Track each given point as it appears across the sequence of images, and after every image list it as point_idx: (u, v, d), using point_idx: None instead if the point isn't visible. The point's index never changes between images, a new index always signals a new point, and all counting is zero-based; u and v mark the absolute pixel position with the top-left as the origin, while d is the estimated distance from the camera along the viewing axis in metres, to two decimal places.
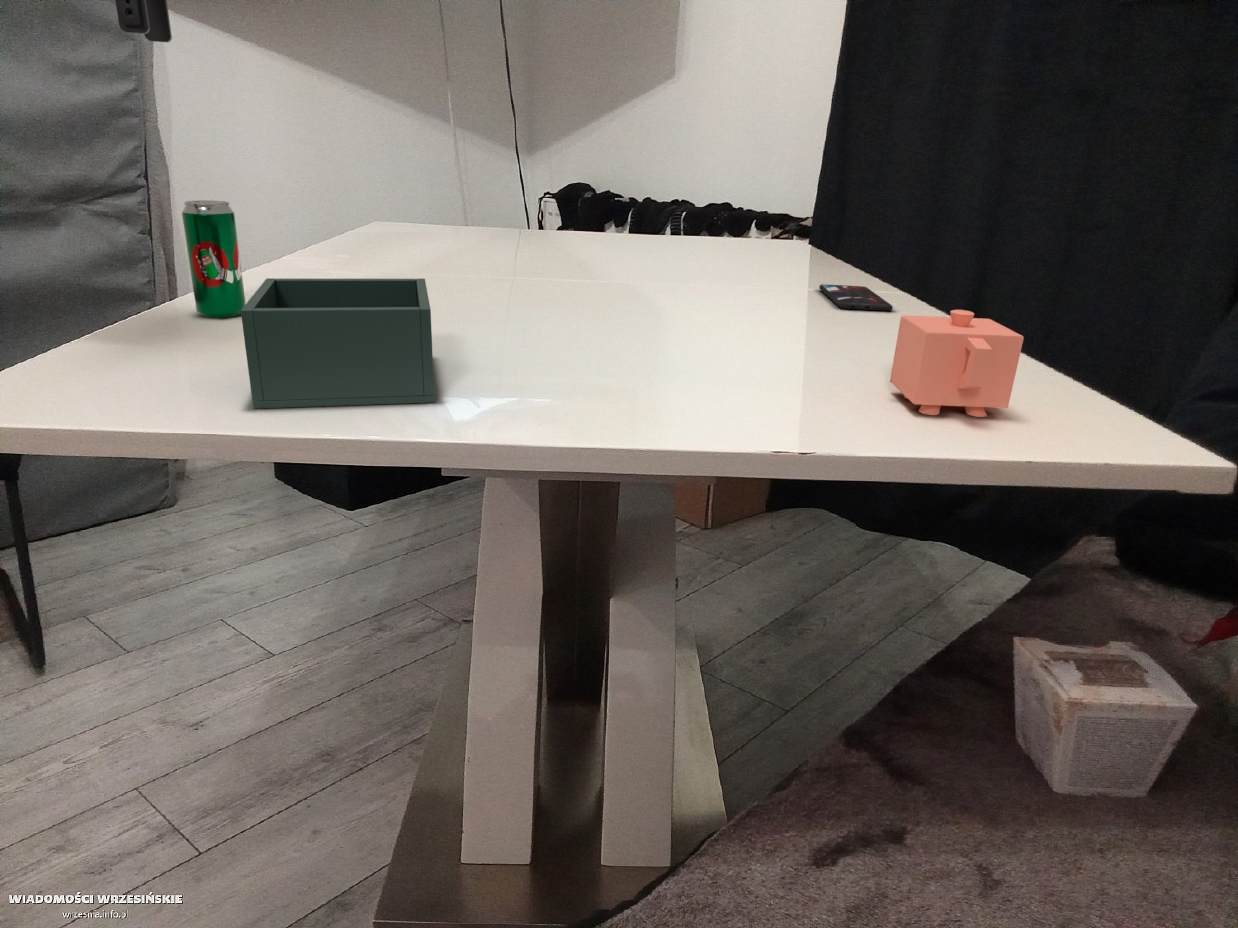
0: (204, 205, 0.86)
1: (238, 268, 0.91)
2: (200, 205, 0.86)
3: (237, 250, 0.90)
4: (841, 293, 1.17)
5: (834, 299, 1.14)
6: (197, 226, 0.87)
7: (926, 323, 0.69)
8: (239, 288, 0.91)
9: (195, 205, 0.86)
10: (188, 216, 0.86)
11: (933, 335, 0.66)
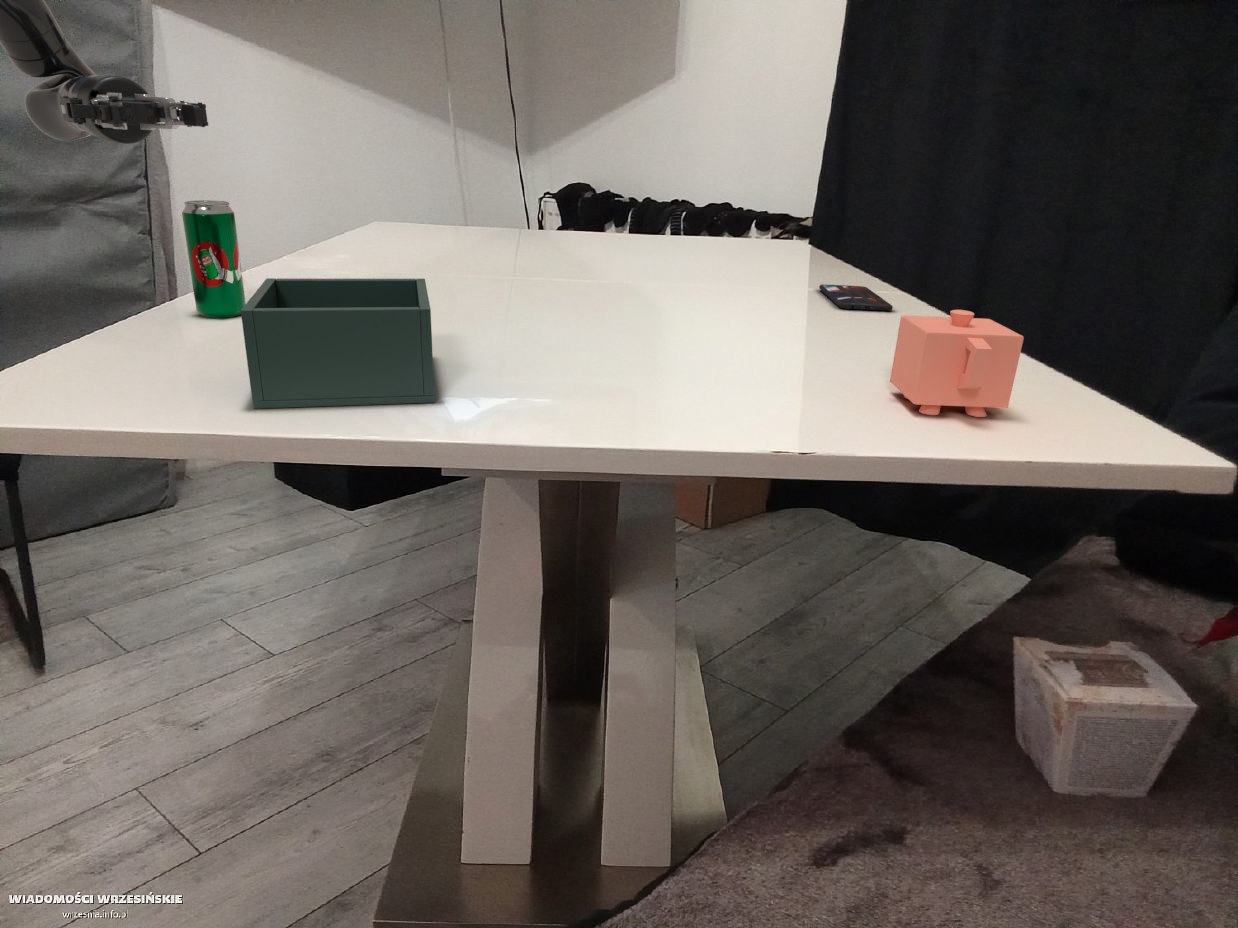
0: (204, 205, 0.86)
1: (238, 268, 0.91)
2: (200, 205, 0.86)
3: (237, 250, 0.90)
4: (841, 293, 1.17)
5: (834, 299, 1.14)
6: (197, 225, 0.87)
7: (926, 323, 0.69)
8: (239, 288, 0.91)
9: (195, 205, 0.86)
10: (188, 216, 0.86)
11: (933, 335, 0.66)
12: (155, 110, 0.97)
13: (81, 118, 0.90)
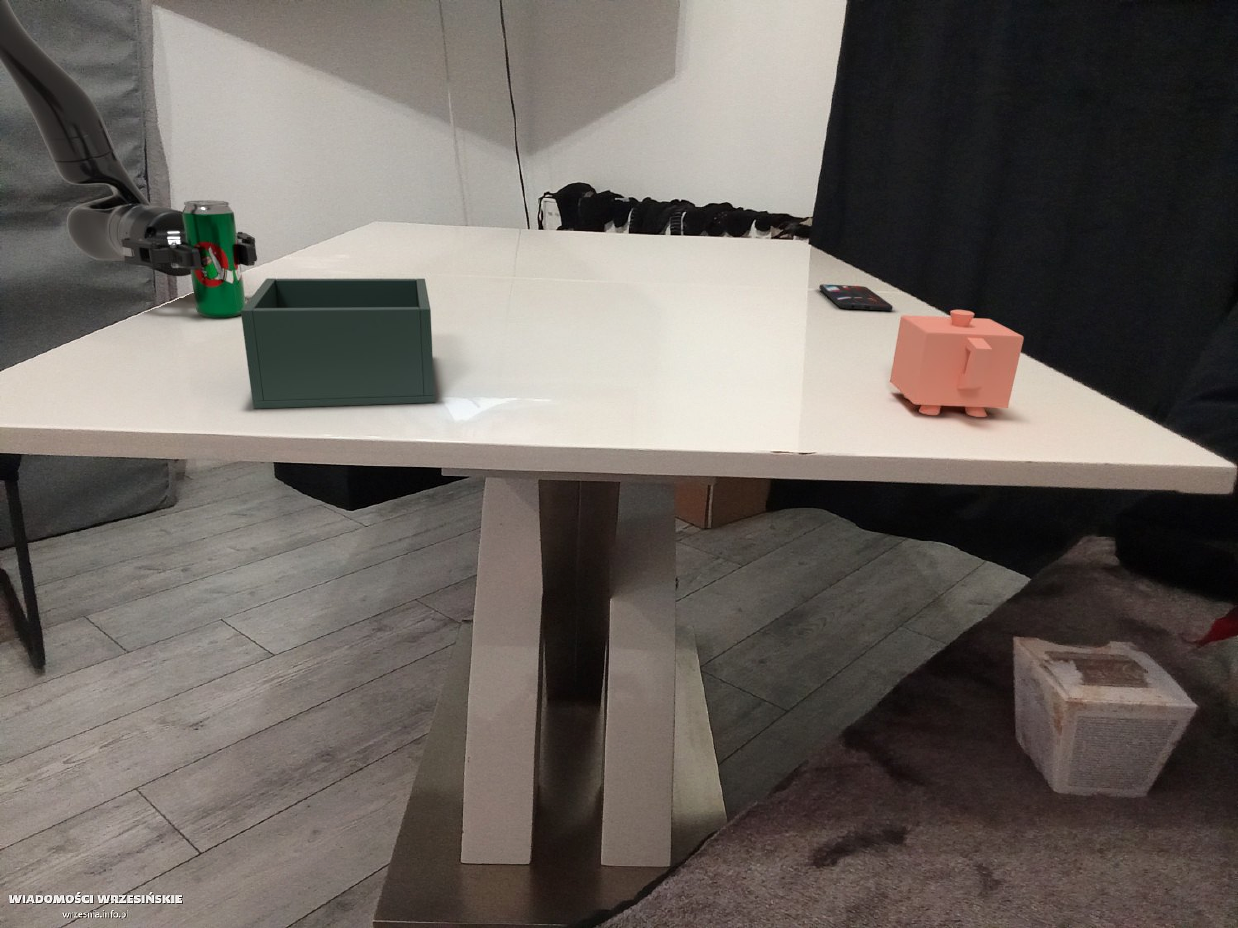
0: (204, 205, 0.86)
1: (238, 268, 0.91)
2: (200, 205, 0.86)
3: (237, 250, 0.90)
4: (841, 293, 1.17)
5: (834, 299, 1.14)
6: (197, 226, 0.87)
7: (926, 323, 0.69)
8: (239, 288, 0.91)
9: (195, 205, 0.86)
10: (188, 216, 0.86)
11: (933, 335, 0.66)
12: None
13: (159, 263, 0.88)
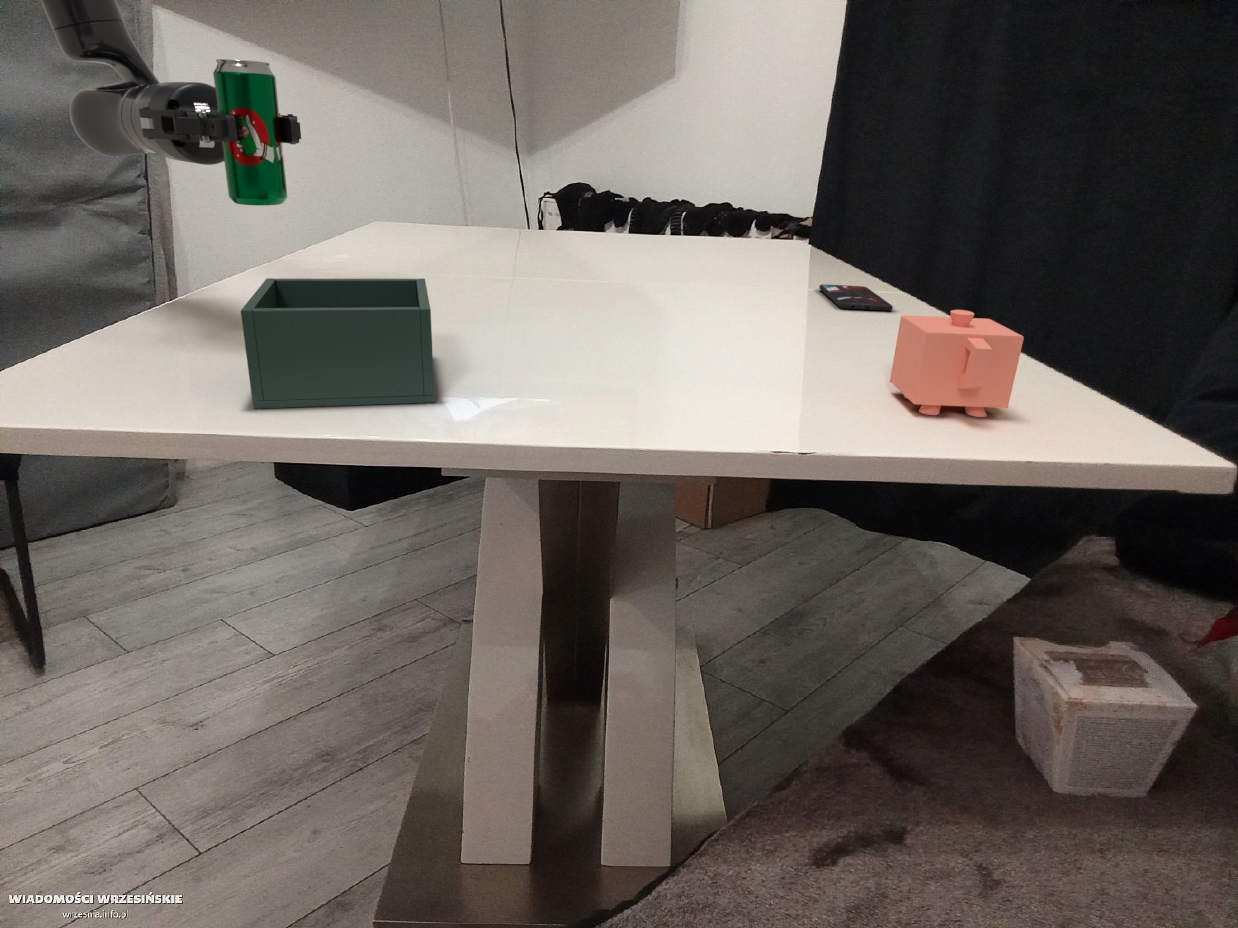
0: (241, 61, 0.71)
1: (279, 145, 0.75)
2: (236, 61, 0.71)
3: (278, 123, 0.75)
4: (841, 293, 1.17)
5: (834, 299, 1.14)
6: (233, 87, 0.71)
7: (926, 323, 0.69)
8: (280, 170, 0.76)
9: (230, 61, 0.71)
10: (221, 75, 0.71)
11: (933, 335, 0.66)
12: None
13: (186, 134, 0.73)
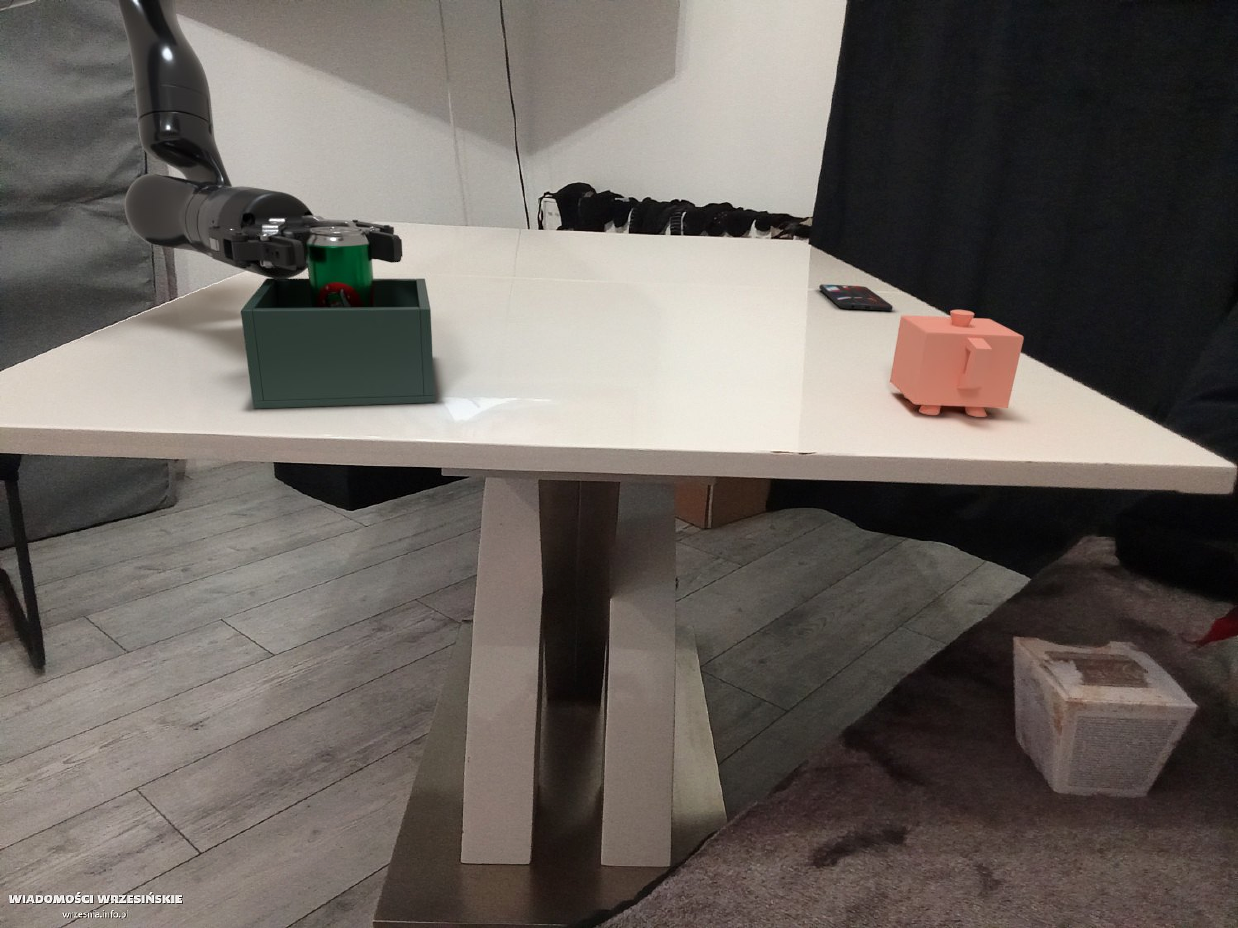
0: (337, 234, 0.65)
1: None
2: (331, 234, 0.65)
3: (373, 292, 0.69)
4: (841, 293, 1.17)
5: (834, 299, 1.14)
6: (327, 261, 0.65)
7: (926, 323, 0.69)
8: None
9: (325, 234, 0.65)
10: (315, 249, 0.65)
11: (933, 335, 0.66)
12: None
13: (246, 260, 0.64)
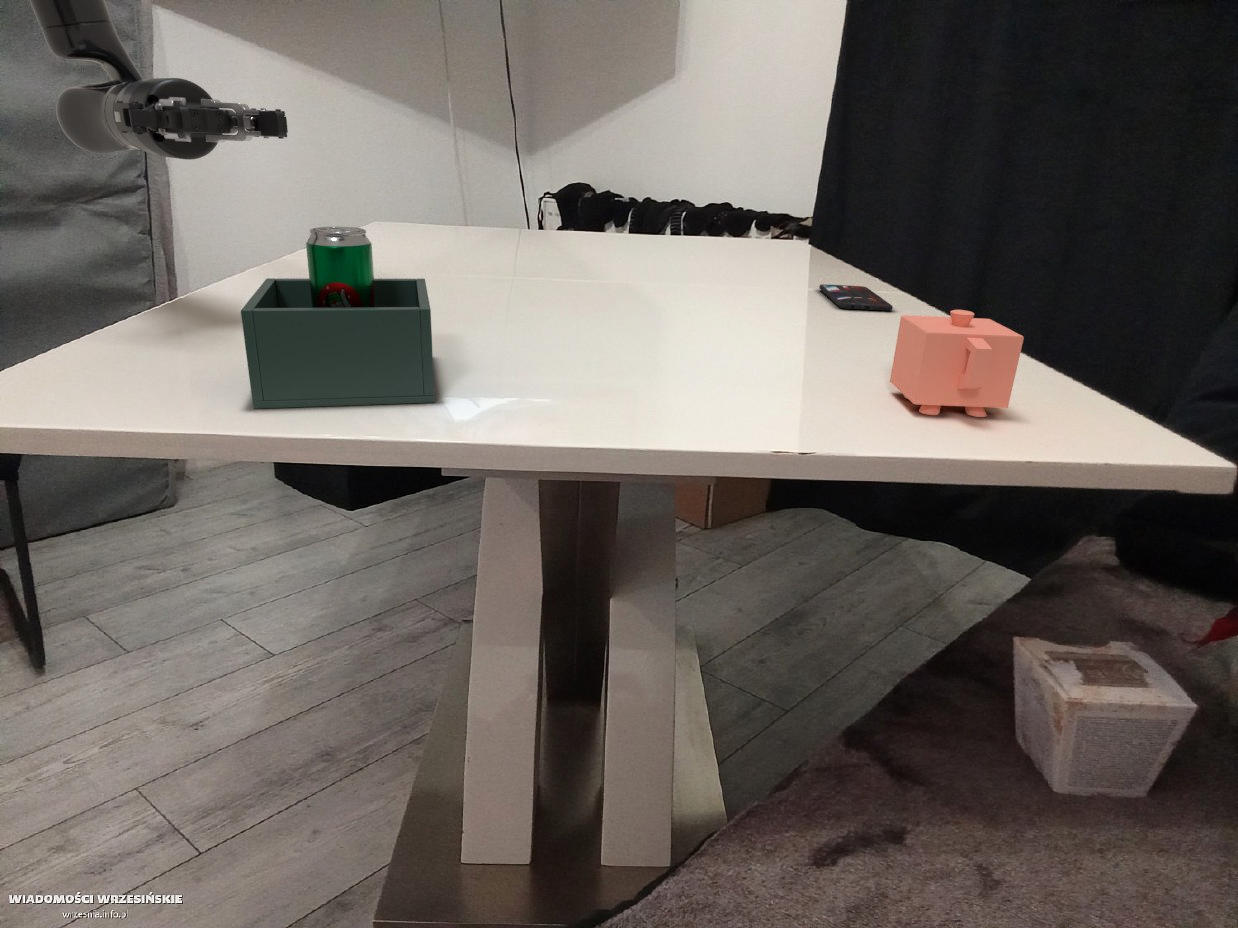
0: (337, 234, 0.65)
1: None
2: (332, 234, 0.65)
3: (374, 292, 0.69)
4: (841, 293, 1.17)
5: (834, 299, 1.14)
6: (328, 261, 0.65)
7: (926, 323, 0.69)
8: None
9: (326, 234, 0.65)
10: (316, 249, 0.65)
11: (933, 335, 0.66)
12: (226, 118, 0.80)
13: (142, 127, 0.73)
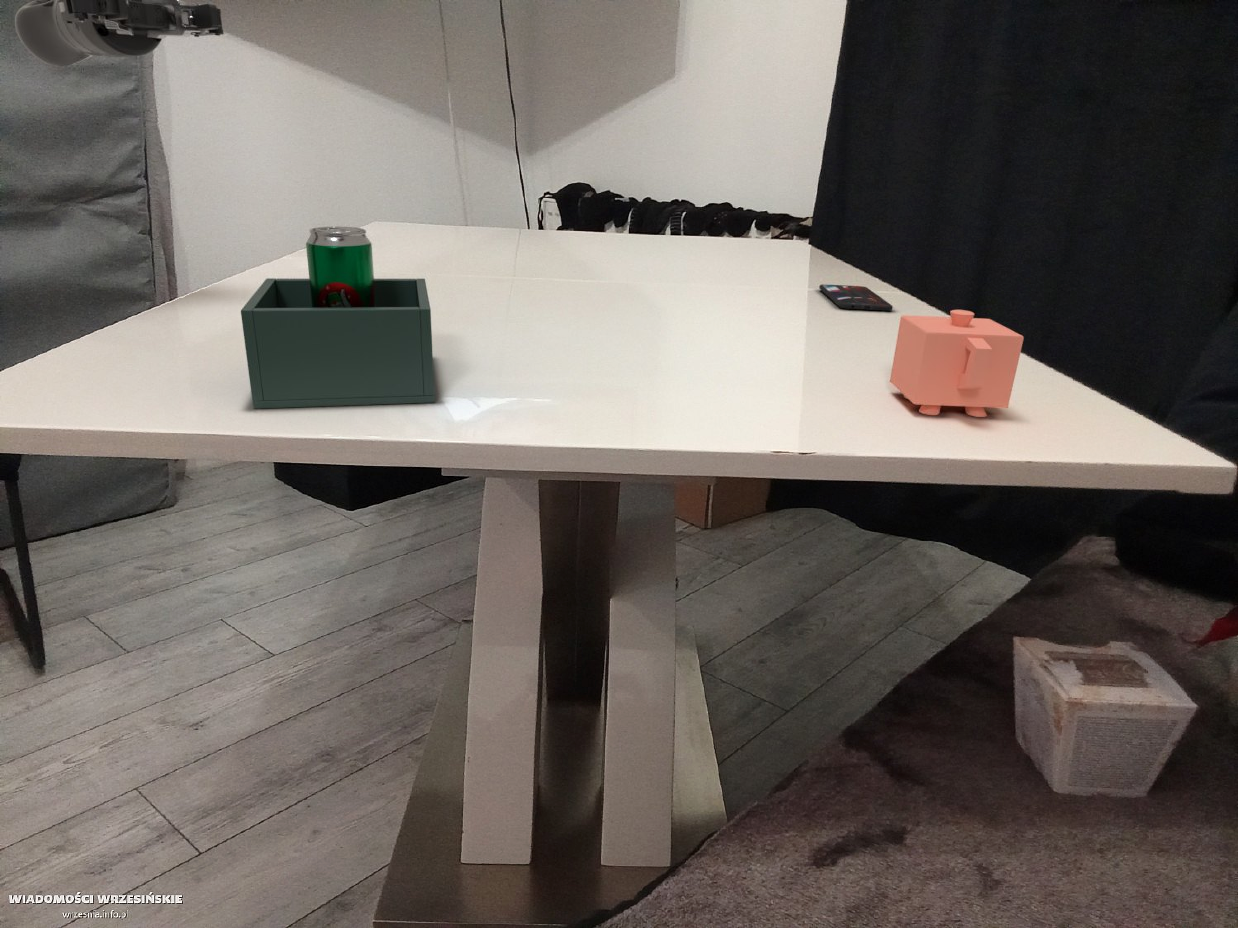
0: (337, 234, 0.65)
1: None
2: (332, 234, 0.65)
3: (374, 292, 0.69)
4: (841, 293, 1.17)
5: (834, 299, 1.14)
6: (328, 261, 0.65)
7: (926, 323, 0.69)
8: None
9: (326, 234, 0.65)
10: (316, 249, 0.65)
11: (933, 335, 0.66)
12: (165, 13, 0.86)
13: (83, 13, 0.80)
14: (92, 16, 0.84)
